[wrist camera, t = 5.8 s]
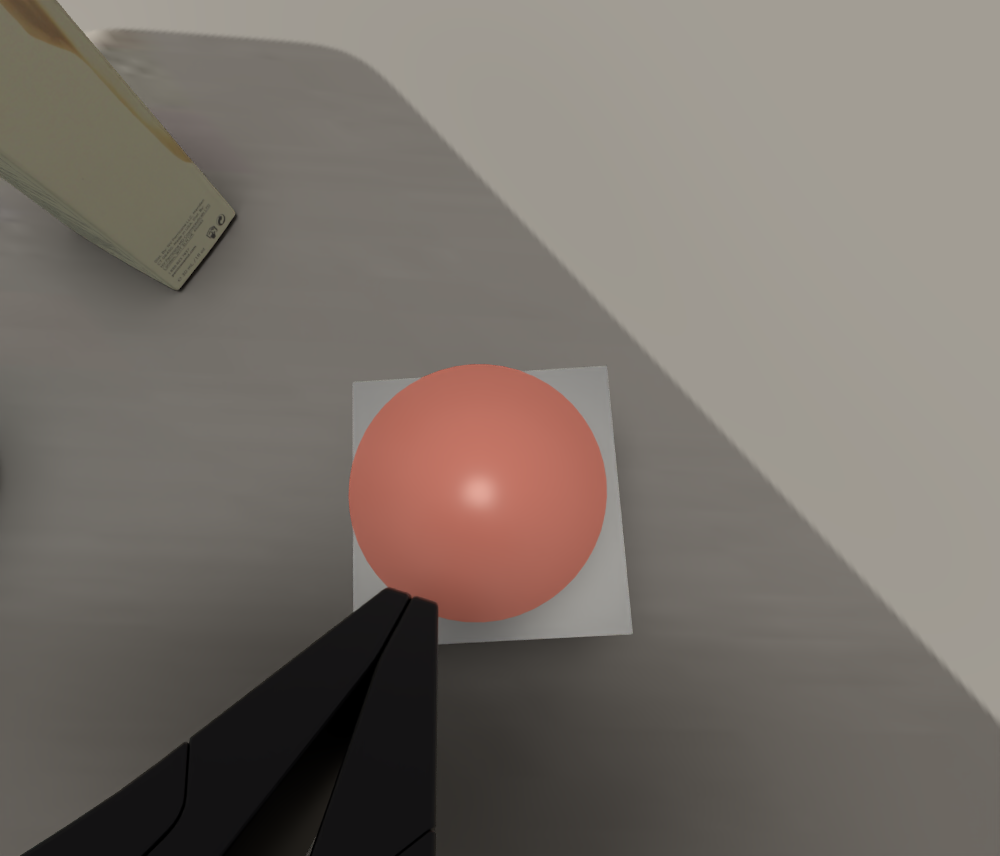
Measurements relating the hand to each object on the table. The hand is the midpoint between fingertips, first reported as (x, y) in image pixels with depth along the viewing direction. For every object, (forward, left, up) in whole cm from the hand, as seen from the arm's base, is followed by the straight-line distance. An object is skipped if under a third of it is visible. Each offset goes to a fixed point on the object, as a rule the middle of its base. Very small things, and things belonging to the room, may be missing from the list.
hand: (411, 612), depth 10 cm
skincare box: (+16, +13, -14) cm, 25 cm away
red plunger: (+2, -1, -11) cm, 11 cm away
